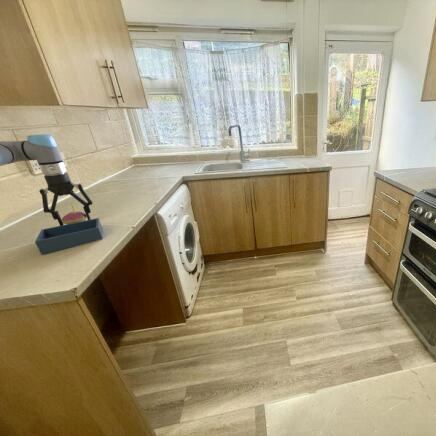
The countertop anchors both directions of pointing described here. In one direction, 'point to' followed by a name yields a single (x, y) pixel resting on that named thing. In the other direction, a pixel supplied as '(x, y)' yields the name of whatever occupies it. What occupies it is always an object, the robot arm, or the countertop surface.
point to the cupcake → (74, 216)
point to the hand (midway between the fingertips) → (76, 222)
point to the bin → (69, 235)
